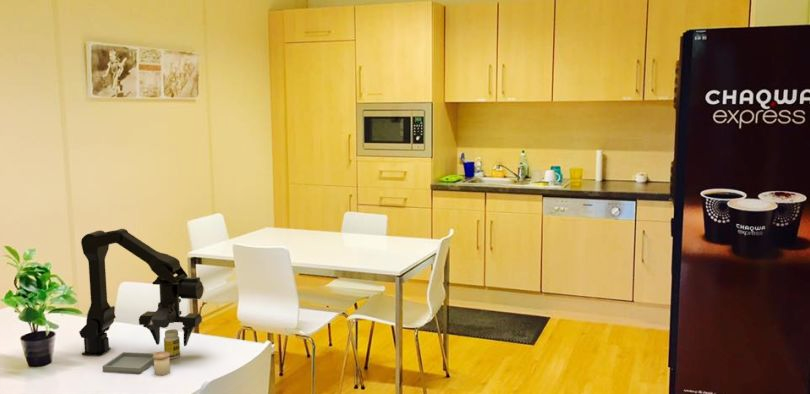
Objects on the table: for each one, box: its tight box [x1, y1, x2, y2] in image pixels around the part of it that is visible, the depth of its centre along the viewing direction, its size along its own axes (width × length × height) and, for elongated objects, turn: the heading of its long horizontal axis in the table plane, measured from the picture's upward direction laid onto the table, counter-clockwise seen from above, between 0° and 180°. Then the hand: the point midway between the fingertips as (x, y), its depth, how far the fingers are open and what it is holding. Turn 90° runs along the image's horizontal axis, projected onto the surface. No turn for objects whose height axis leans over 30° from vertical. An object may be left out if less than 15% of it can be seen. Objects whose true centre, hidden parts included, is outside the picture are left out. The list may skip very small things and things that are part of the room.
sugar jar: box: [152, 350, 171, 376], centre depth 212 cm, size 5×5×6 cm
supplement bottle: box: [163, 329, 181, 360], centre depth 225 cm, size 5×5×8 cm
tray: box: [102, 351, 154, 375], centre depth 218 cm, size 12×12×2 cm
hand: (171, 345), depth 225 cm, fingers open, 9 cm apart
